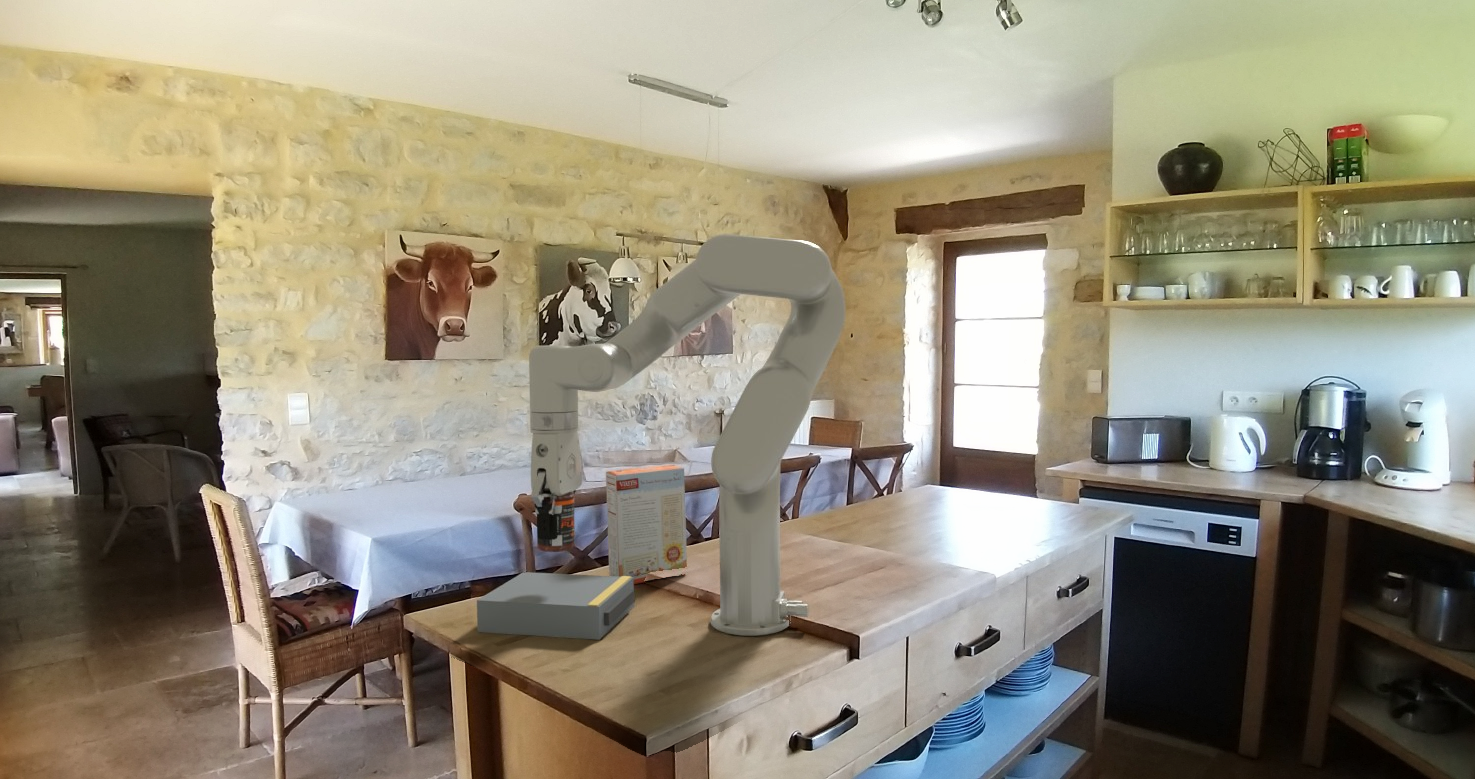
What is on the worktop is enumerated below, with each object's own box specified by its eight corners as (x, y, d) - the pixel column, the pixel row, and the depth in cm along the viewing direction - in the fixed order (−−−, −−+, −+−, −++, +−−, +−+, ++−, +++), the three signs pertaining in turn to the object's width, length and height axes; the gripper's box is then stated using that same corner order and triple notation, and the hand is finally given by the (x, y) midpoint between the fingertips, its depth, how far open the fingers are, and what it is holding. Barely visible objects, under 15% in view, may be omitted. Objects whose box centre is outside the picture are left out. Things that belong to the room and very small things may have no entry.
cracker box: (674, 568, 164) (672, 463, 163) (688, 576, 159) (686, 467, 158) (607, 579, 157) (604, 469, 156) (619, 587, 152) (616, 473, 151)
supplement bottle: (567, 553, 131) (565, 482, 130) (531, 552, 132) (529, 481, 131) (580, 544, 137) (579, 476, 136) (545, 543, 138) (544, 475, 137)
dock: (638, 606, 141) (637, 576, 140) (604, 639, 125) (603, 605, 125) (524, 600, 145) (523, 570, 145) (477, 631, 129) (476, 598, 129)
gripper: (553, 428, 124) (555, 548, 125) (596, 418, 141) (597, 523, 142) (507, 427, 126) (509, 545, 127) (554, 417, 142) (556, 521, 144)
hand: (556, 532), depth 134 cm, fingers closed on supplement bottle, 5 cm apart
